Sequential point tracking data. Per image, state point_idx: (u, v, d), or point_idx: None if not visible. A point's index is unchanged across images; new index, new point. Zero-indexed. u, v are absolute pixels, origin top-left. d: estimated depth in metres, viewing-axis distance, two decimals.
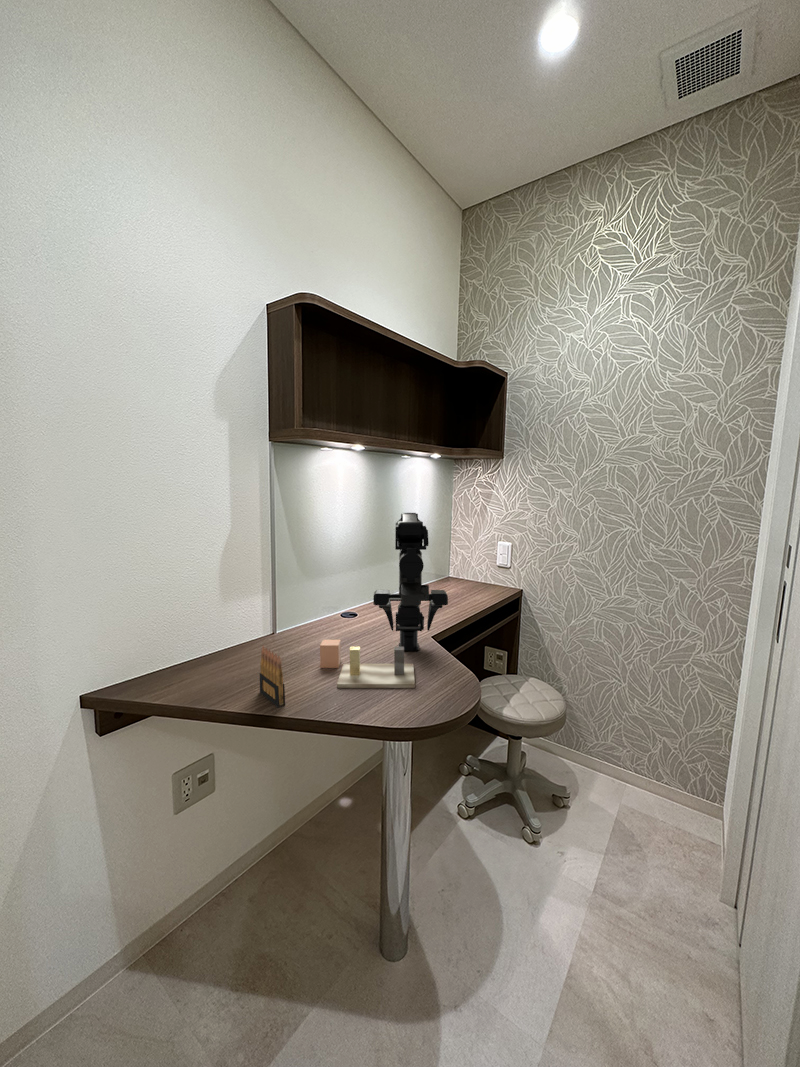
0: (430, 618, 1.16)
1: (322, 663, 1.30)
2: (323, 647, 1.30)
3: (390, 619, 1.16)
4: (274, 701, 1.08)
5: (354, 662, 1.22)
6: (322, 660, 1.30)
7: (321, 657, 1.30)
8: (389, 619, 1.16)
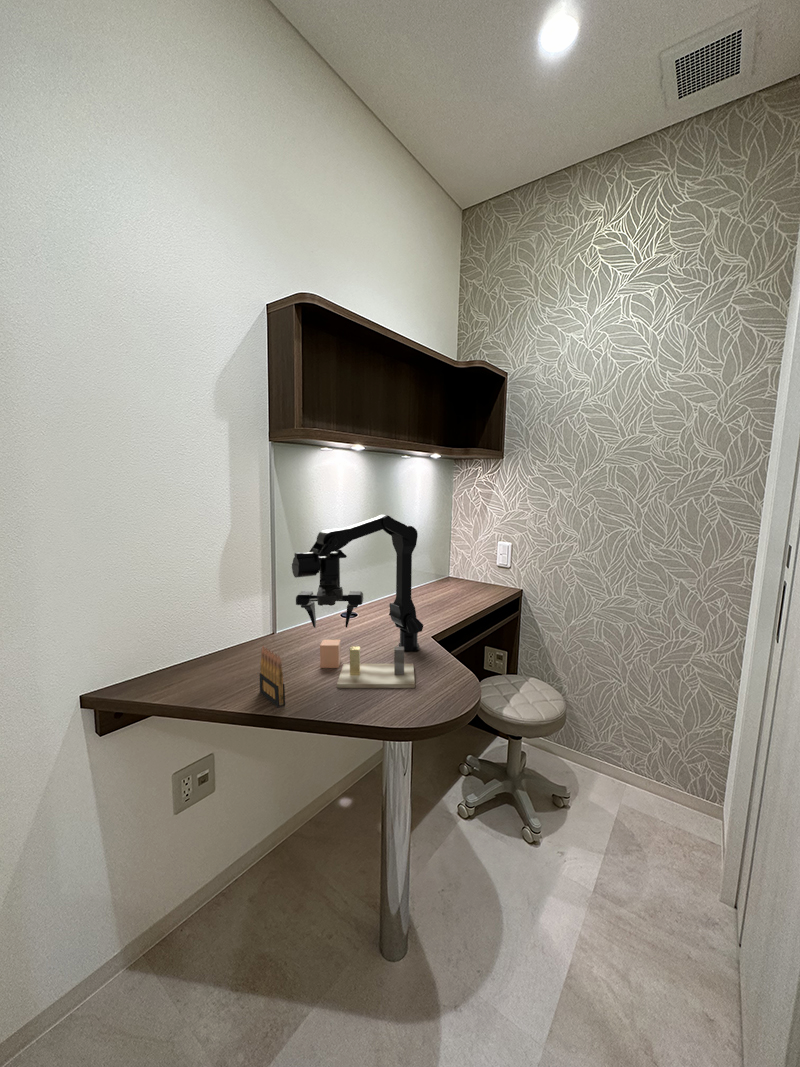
0: (347, 616, 1.31)
1: (322, 663, 1.30)
2: (323, 647, 1.30)
3: (312, 617, 1.31)
4: (274, 701, 1.08)
5: (354, 662, 1.22)
6: (322, 660, 1.30)
7: (321, 657, 1.30)
8: (311, 617, 1.31)
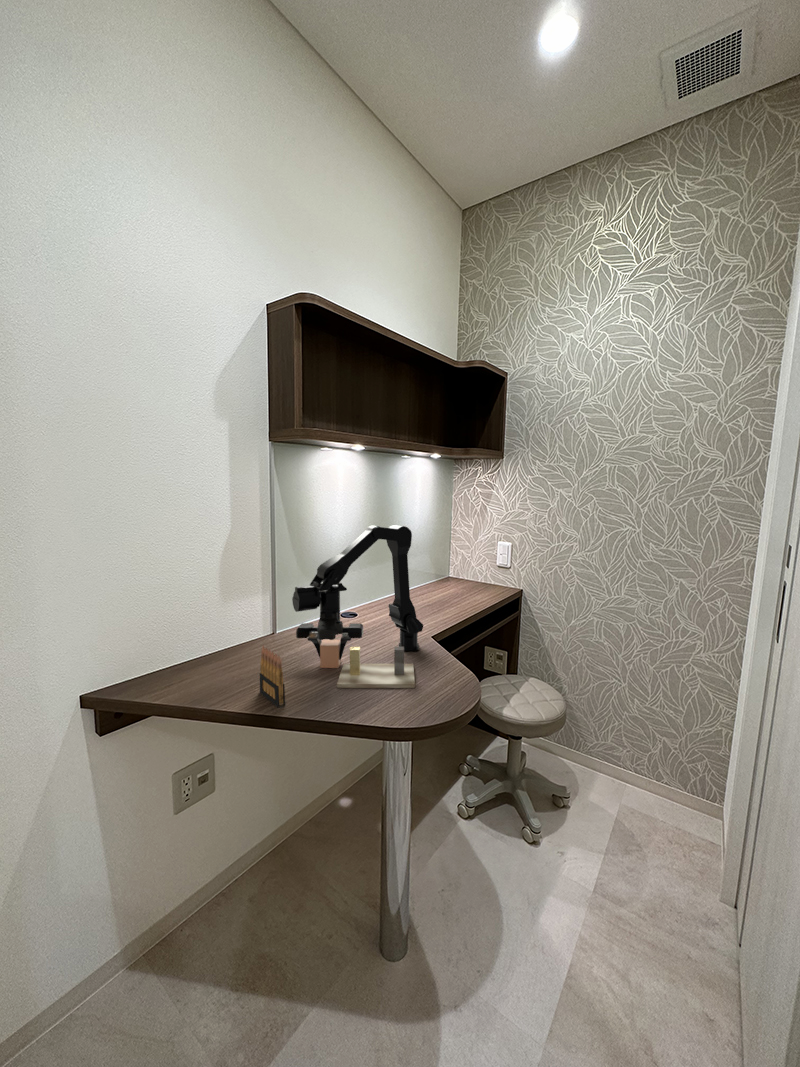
0: (341, 649, 1.32)
1: (322, 663, 1.30)
2: (323, 647, 1.30)
3: (318, 650, 1.32)
4: (274, 701, 1.08)
5: (354, 662, 1.22)
6: (322, 660, 1.30)
7: (321, 657, 1.30)
8: (317, 650, 1.32)
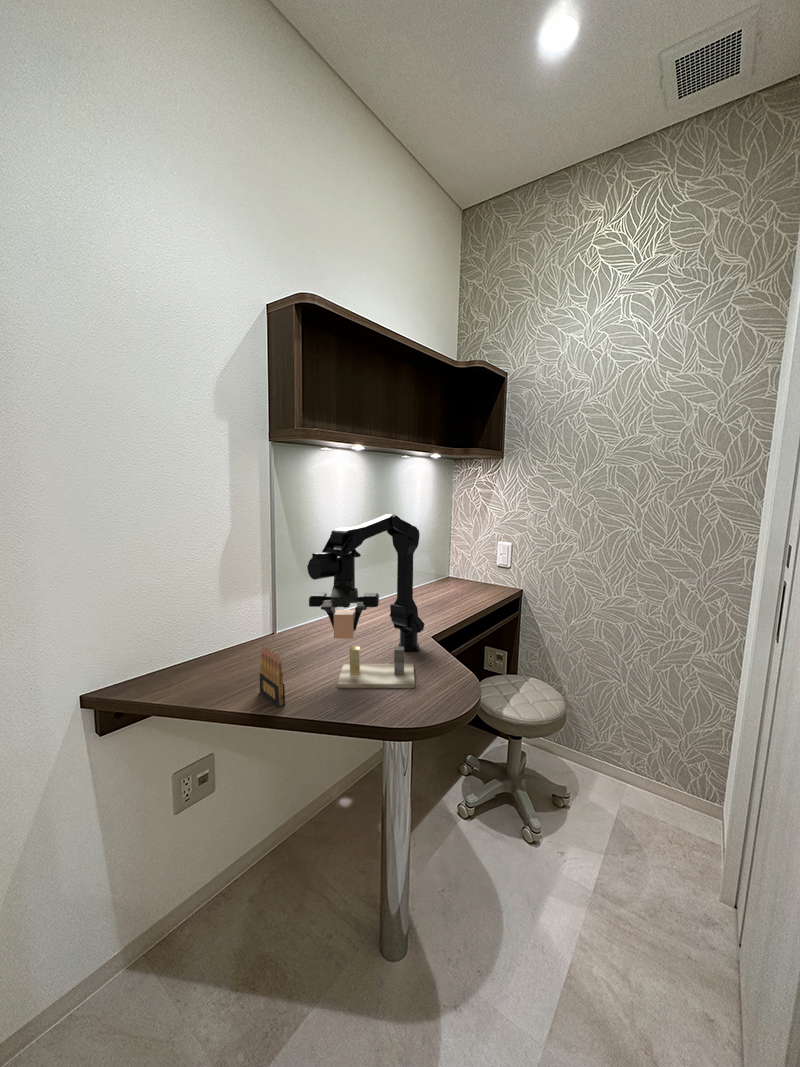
0: (356, 619, 1.25)
1: (336, 633, 1.24)
2: (337, 616, 1.23)
3: (332, 620, 1.25)
4: (274, 701, 1.08)
5: (354, 662, 1.22)
6: (336, 630, 1.24)
7: (335, 627, 1.24)
8: (331, 620, 1.25)
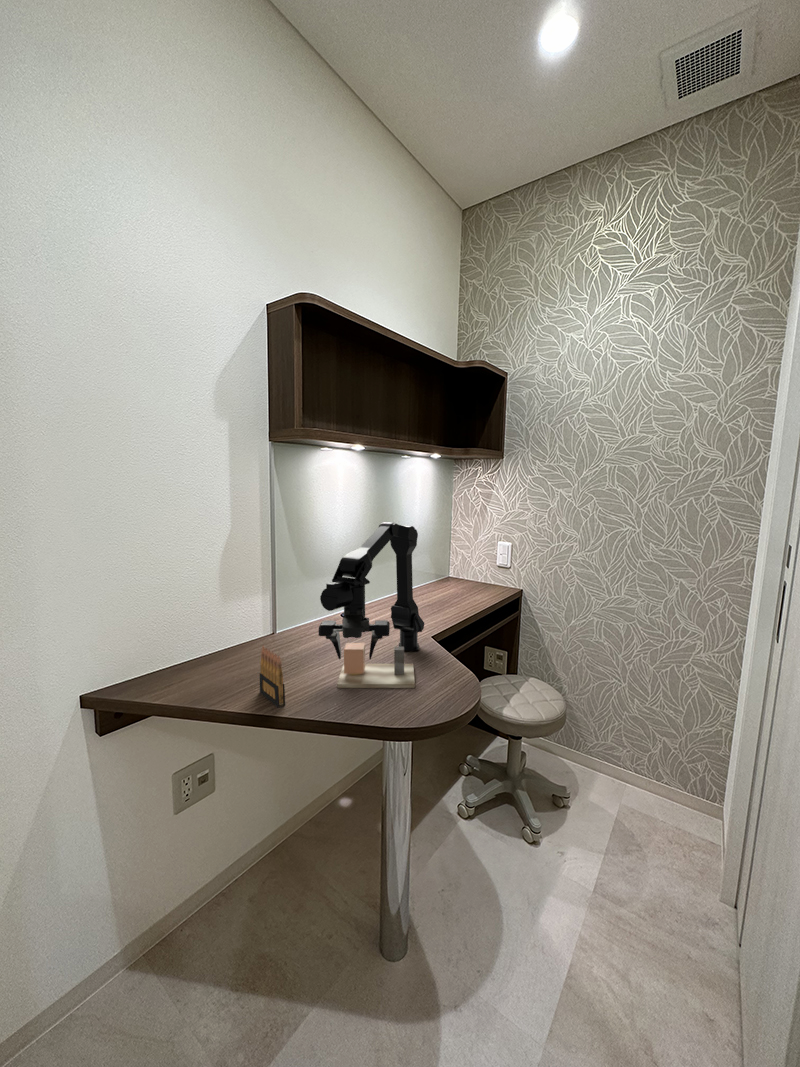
0: (371, 648, 1.22)
1: (346, 668, 1.21)
2: (347, 651, 1.21)
3: (337, 649, 1.22)
4: (274, 701, 1.08)
5: None
6: (346, 665, 1.21)
7: (345, 662, 1.21)
8: (336, 649, 1.22)
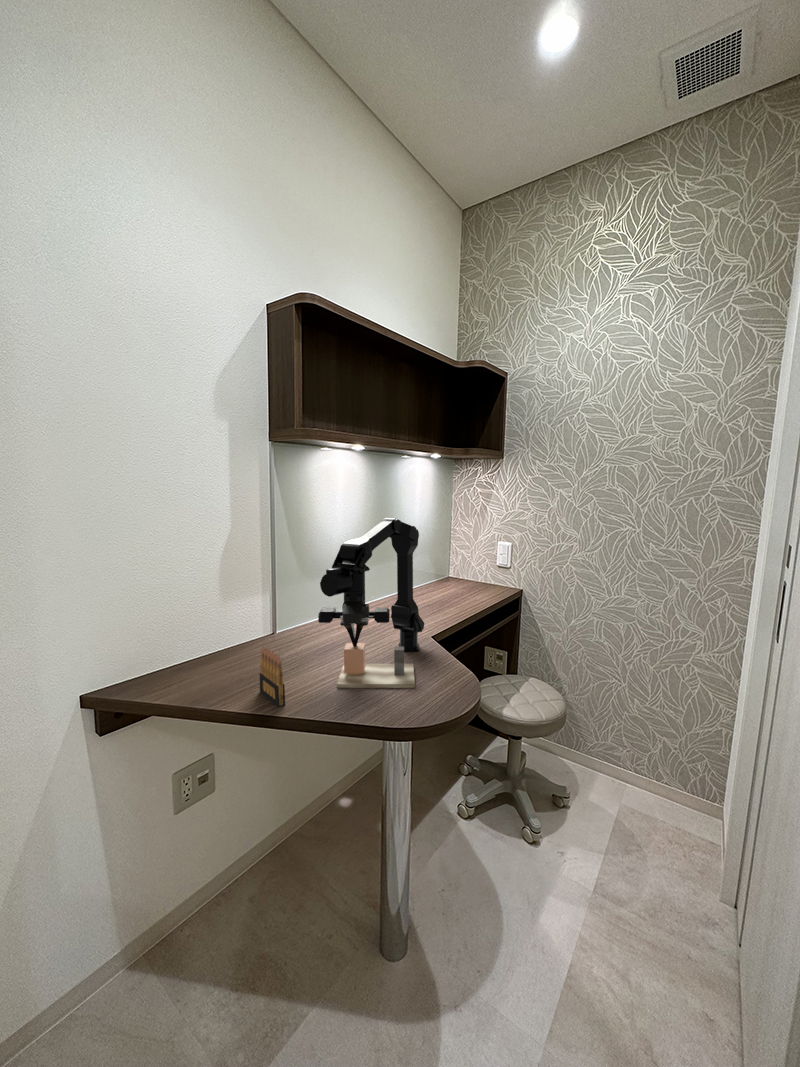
0: (357, 635, 1.22)
1: (346, 668, 1.21)
2: (347, 651, 1.21)
3: (351, 636, 1.22)
4: (274, 701, 1.08)
5: None
6: (346, 665, 1.21)
7: (345, 662, 1.21)
8: (350, 636, 1.22)
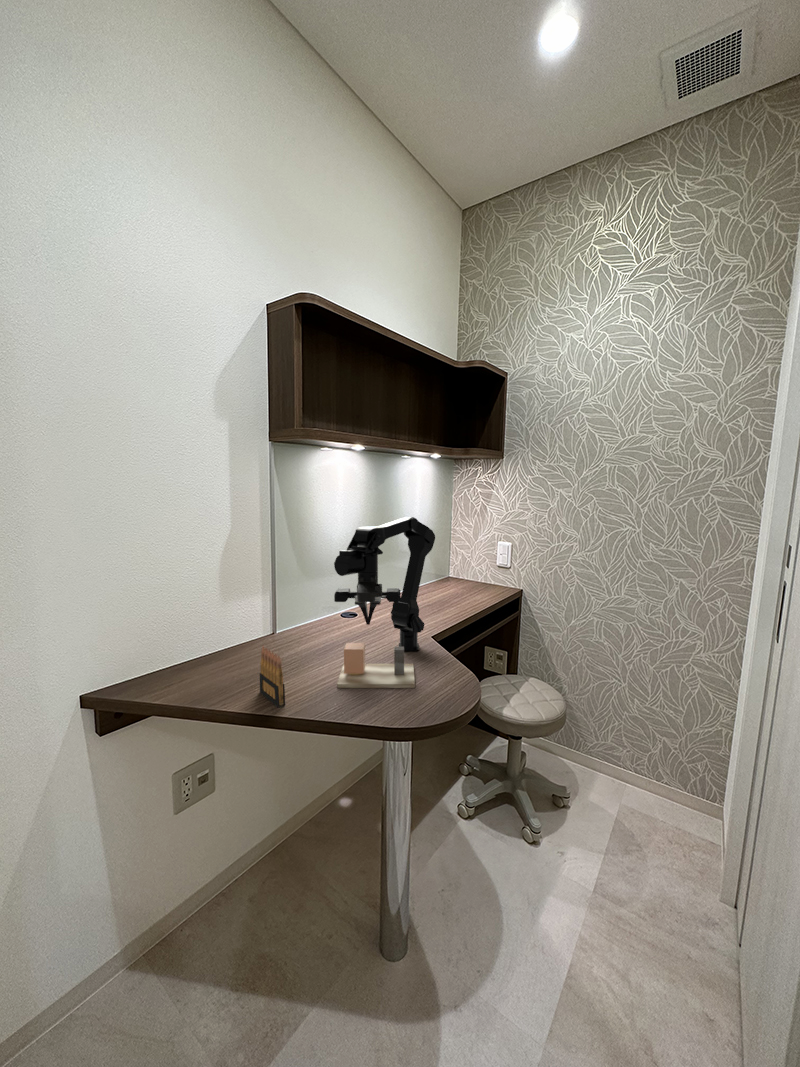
0: (370, 613, 1.31)
1: (346, 668, 1.21)
2: (347, 651, 1.21)
3: (365, 614, 1.31)
4: (274, 701, 1.08)
5: None
6: (346, 665, 1.21)
7: (345, 662, 1.21)
8: (364, 614, 1.31)
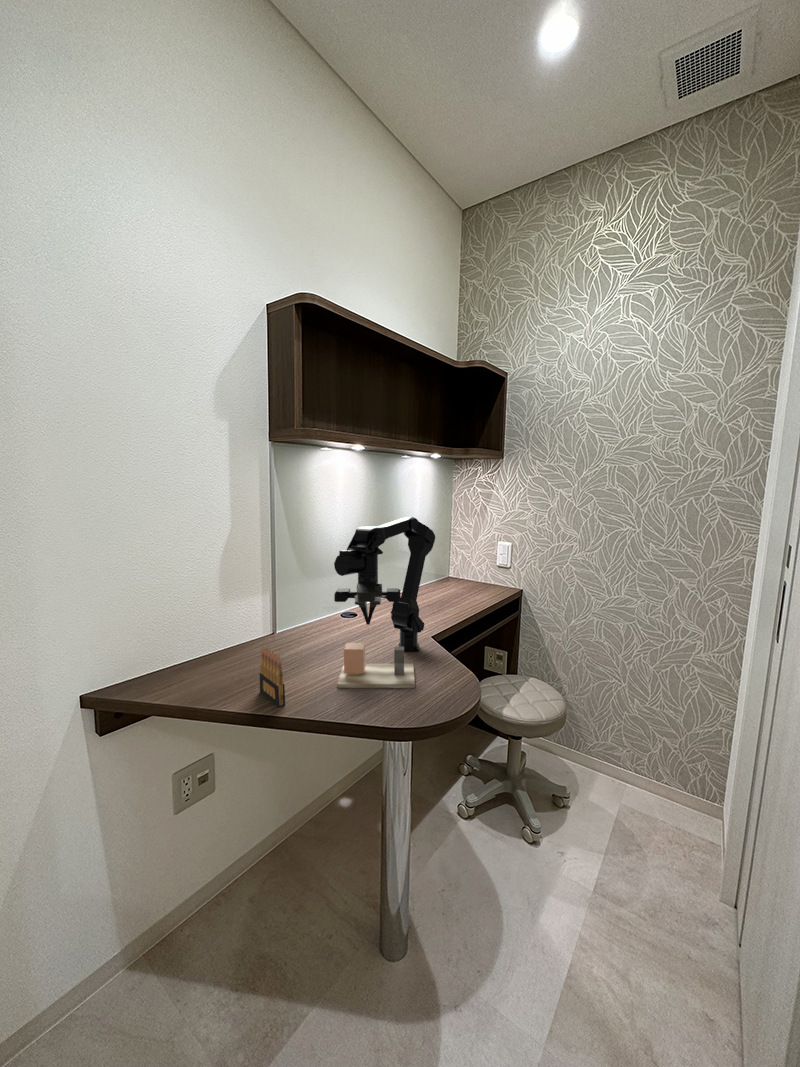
0: (370, 613, 1.31)
1: (346, 668, 1.21)
2: (347, 651, 1.21)
3: (365, 614, 1.31)
4: (274, 701, 1.08)
5: None
6: (346, 665, 1.21)
7: (345, 662, 1.21)
8: (364, 614, 1.31)
